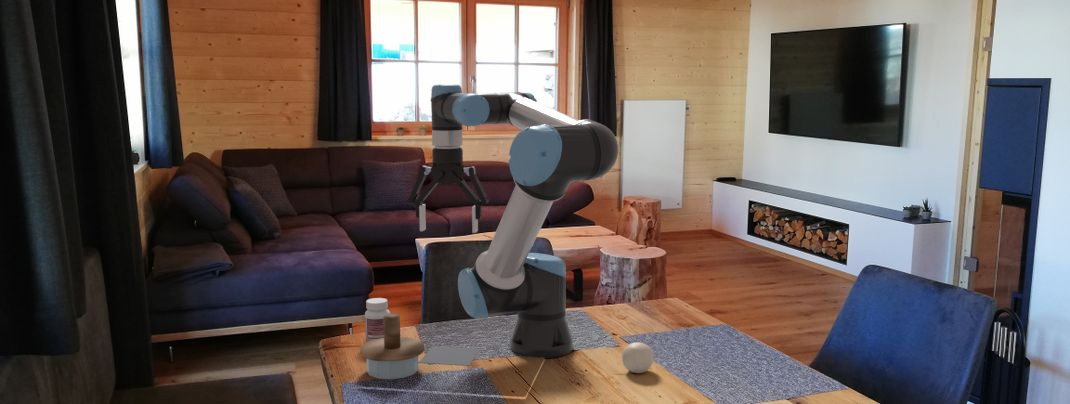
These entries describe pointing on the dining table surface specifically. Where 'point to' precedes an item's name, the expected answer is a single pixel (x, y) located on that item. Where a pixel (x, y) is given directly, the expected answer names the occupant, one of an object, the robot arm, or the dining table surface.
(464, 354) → the mat
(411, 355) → the lid
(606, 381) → the dining table surface
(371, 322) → the pill bottle
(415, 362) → the bowl
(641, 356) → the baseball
